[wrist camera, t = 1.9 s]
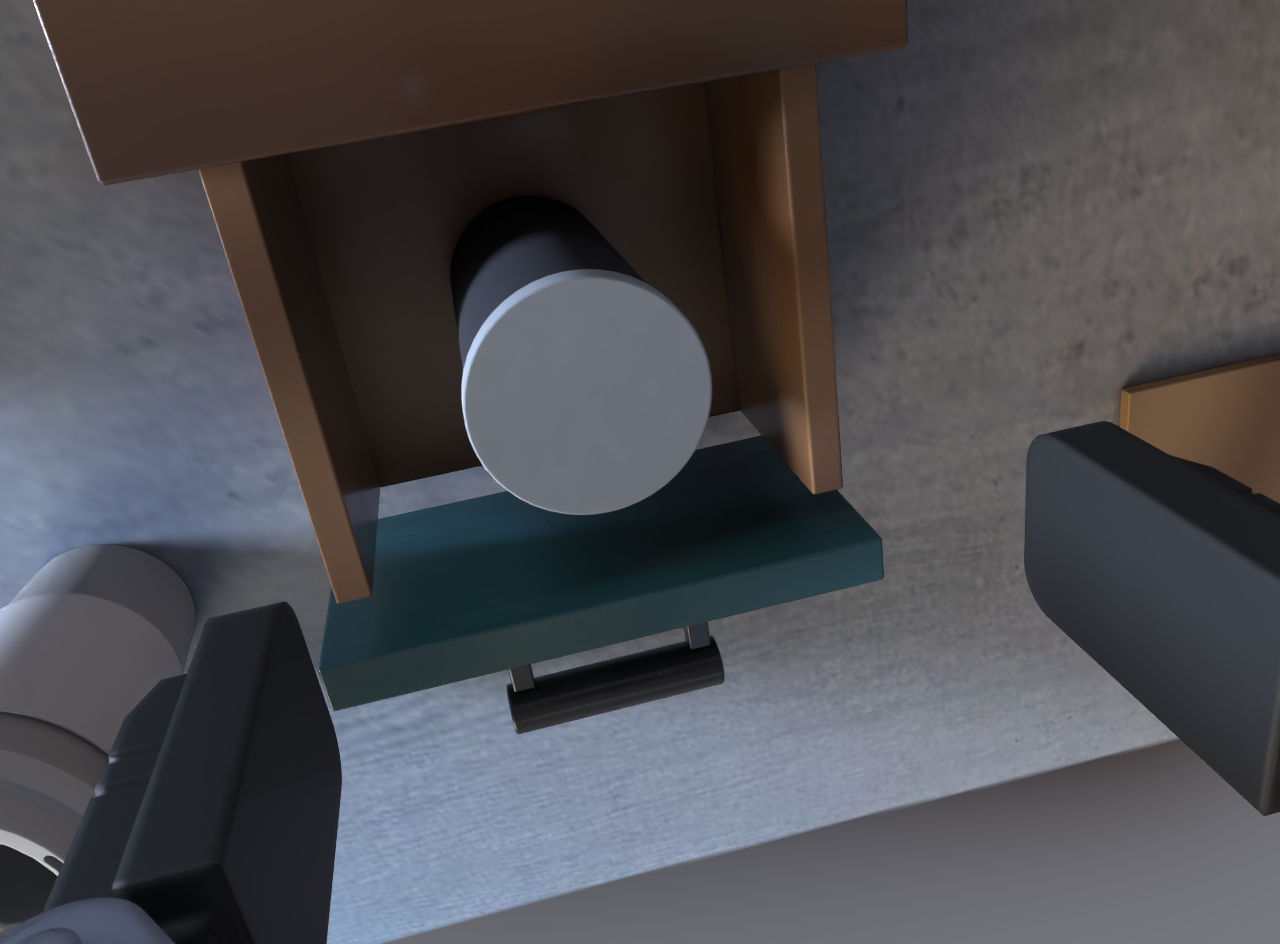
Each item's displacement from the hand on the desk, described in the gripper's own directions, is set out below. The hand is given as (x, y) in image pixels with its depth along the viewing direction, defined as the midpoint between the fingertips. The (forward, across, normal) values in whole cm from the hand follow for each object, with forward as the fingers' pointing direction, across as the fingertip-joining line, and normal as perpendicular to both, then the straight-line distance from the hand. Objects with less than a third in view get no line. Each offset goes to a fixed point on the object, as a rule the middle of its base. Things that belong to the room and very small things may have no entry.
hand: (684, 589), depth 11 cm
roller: (+17, 0, 0) cm, 17 cm away
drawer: (+18, 0, +2) cm, 19 cm away
